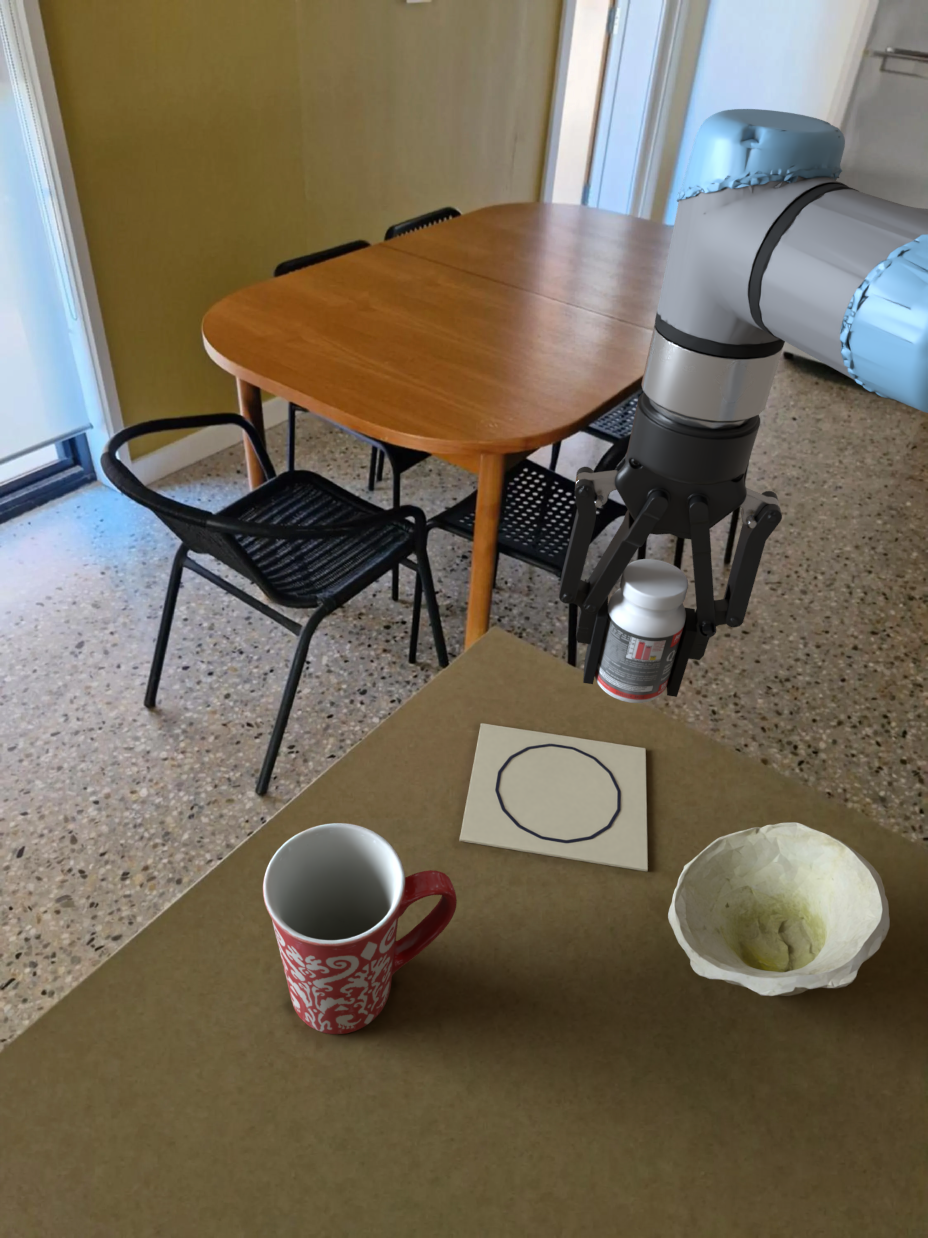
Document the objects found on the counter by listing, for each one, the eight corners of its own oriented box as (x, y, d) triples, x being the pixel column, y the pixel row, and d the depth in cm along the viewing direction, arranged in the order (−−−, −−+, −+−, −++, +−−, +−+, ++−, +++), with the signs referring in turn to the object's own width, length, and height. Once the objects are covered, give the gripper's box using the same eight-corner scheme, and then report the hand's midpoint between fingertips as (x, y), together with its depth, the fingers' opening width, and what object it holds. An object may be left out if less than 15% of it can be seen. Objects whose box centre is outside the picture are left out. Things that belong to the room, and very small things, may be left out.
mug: (278, 1059, 61) (263, 953, 52) (274, 940, 67) (261, 829, 59) (459, 1031, 63) (473, 926, 55) (438, 919, 70) (448, 809, 61)
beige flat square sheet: (647, 872, 75) (647, 869, 74) (459, 841, 76) (459, 838, 76) (645, 750, 85) (645, 747, 85) (480, 725, 87) (481, 722, 86)
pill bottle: (672, 708, 67) (703, 605, 61) (597, 704, 67) (621, 600, 60) (659, 657, 71) (687, 556, 65) (589, 653, 71) (610, 552, 65)
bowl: (673, 851, 76) (701, 774, 70) (842, 901, 74) (886, 825, 67) (647, 1010, 65) (677, 935, 59) (844, 1077, 62) (898, 1005, 56)
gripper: (845, 394, 57) (746, 664, 71) (552, 358, 58) (515, 630, 72) (869, 450, 51) (756, 731, 65) (544, 408, 52) (505, 692, 67)
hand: (630, 677), depth 69 cm, fingers closed on pill bottle, 6 cm apart
